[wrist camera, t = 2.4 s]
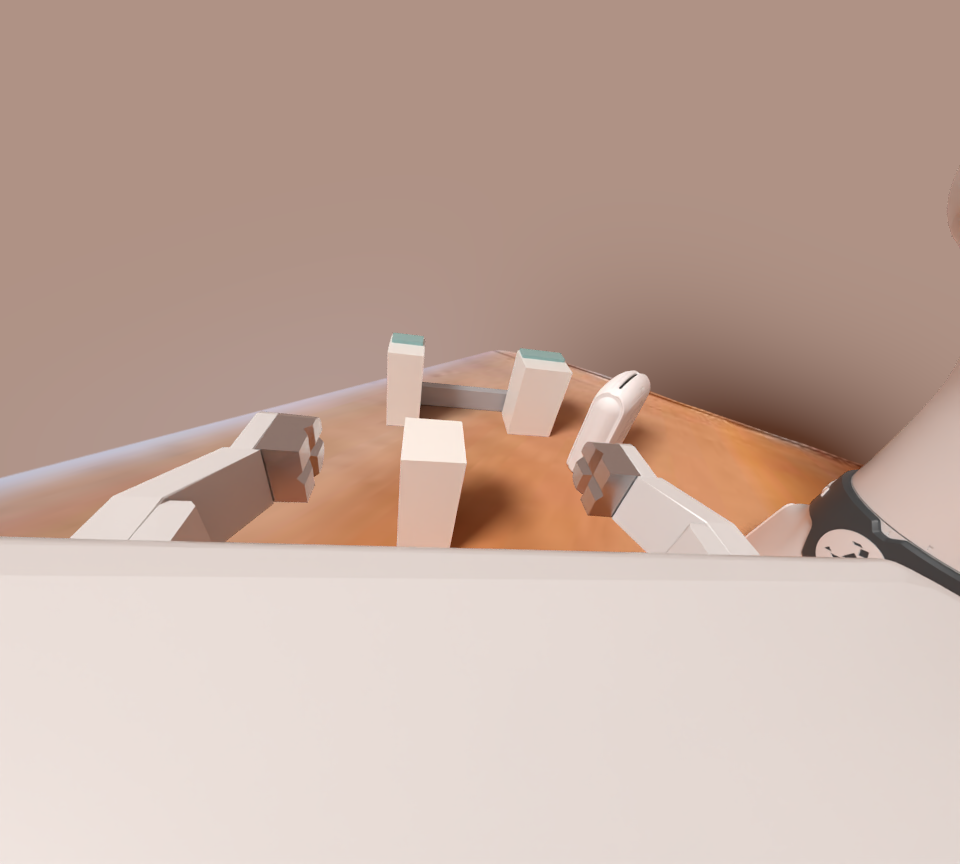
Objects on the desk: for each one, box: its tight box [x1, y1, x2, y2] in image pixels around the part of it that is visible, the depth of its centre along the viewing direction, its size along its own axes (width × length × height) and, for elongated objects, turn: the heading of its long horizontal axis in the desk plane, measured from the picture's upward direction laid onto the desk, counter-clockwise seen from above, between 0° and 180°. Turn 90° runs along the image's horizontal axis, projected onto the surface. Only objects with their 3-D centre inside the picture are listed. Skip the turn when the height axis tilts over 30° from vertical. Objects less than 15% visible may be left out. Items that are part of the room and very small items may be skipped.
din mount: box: [387, 333, 572, 437], centre depth 45 cm, size 22×7×10 cm, turn 96°
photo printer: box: [567, 371, 650, 472], centre depth 42 cm, size 10×4×12 cm, turn 139°
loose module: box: [397, 417, 467, 548], centre depth 29 cm, size 4×5×11 cm
